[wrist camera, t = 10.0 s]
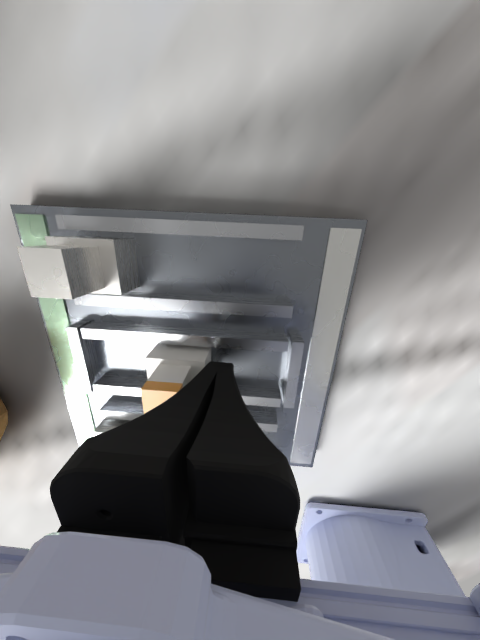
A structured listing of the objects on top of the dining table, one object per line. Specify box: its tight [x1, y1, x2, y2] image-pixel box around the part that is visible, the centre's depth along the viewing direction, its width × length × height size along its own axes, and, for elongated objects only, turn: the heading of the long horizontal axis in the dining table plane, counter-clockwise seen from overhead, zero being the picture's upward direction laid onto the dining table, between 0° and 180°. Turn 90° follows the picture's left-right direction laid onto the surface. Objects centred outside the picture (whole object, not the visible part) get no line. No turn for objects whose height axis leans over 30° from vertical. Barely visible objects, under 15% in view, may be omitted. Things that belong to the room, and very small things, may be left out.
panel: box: [10, 205, 367, 467], centre depth 12 cm, size 17×16×5 cm
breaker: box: [141, 344, 211, 414], centre depth 12 cm, size 3×2×4 cm
